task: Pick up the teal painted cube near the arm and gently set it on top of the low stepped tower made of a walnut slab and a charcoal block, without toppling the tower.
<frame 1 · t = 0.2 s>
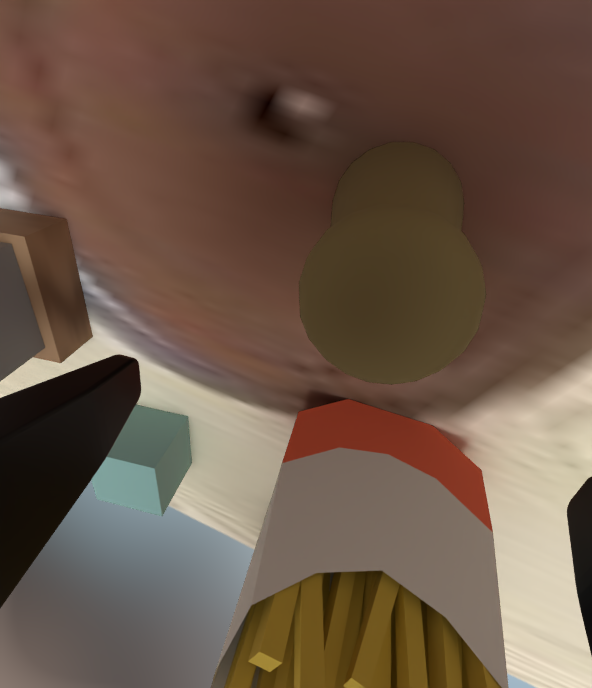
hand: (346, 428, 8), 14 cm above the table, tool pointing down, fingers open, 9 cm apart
cork: (395, 210, 20), on the table
teal cube: (159, 432, 32), on the table
french fries container: (380, 430, 27), on the table
walnut slab: (27, 270, 27), on the table, touching charcoal block
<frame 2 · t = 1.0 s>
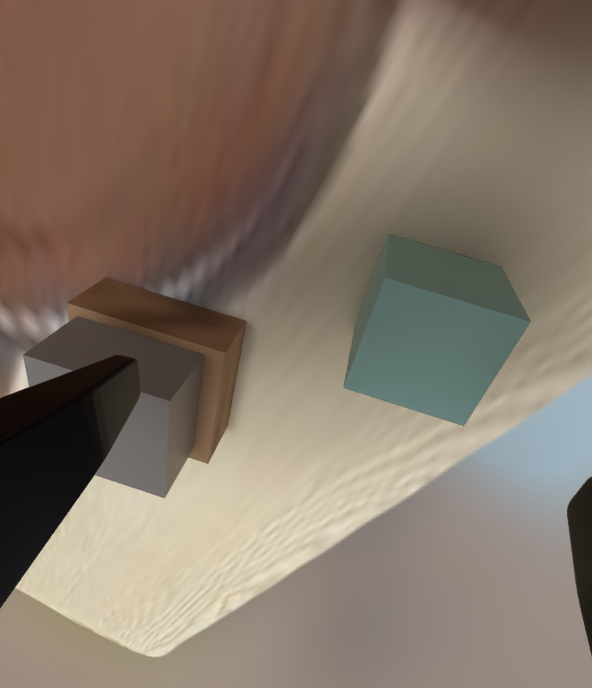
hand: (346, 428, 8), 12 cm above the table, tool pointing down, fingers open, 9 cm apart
teal cube: (422, 299, 20), on the table
charcoal block: (139, 386, 22), point 3 cm above the table
walnut slab: (174, 354, 25), on the table
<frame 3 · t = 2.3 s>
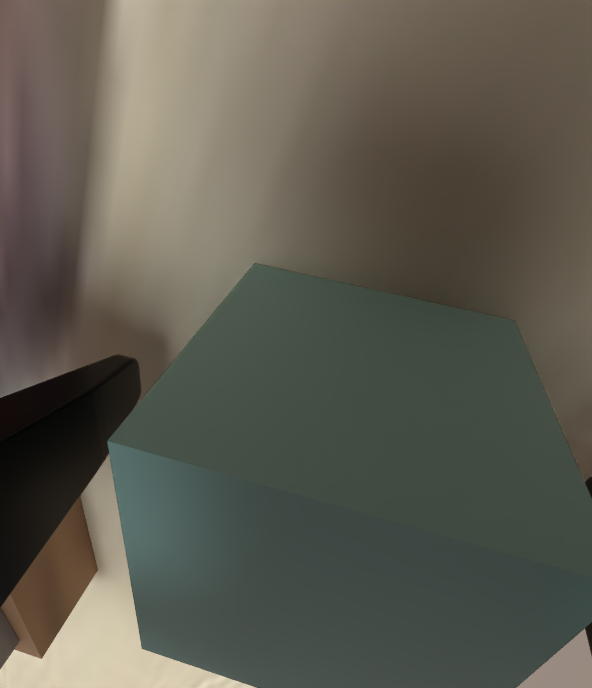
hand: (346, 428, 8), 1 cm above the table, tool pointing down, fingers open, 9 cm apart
teal cube: (353, 388, 9), on the table
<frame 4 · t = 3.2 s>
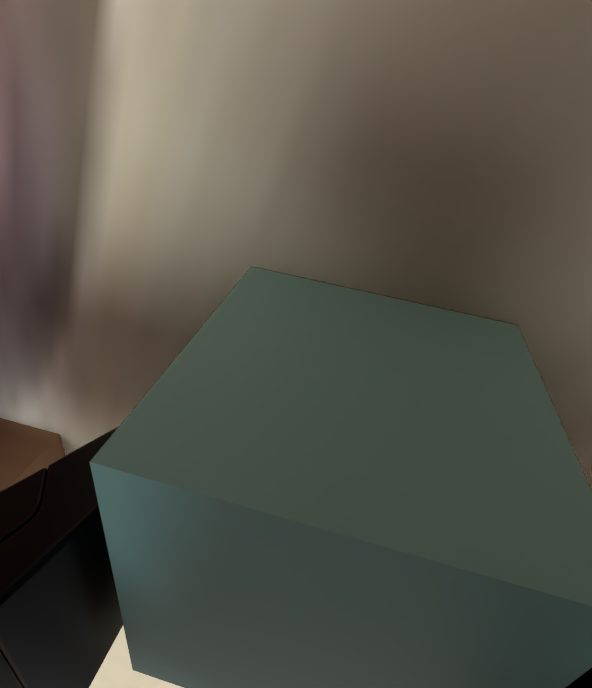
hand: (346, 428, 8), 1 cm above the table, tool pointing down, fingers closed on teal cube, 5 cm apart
teal cube: (352, 396, 9), on the table, touching gripper
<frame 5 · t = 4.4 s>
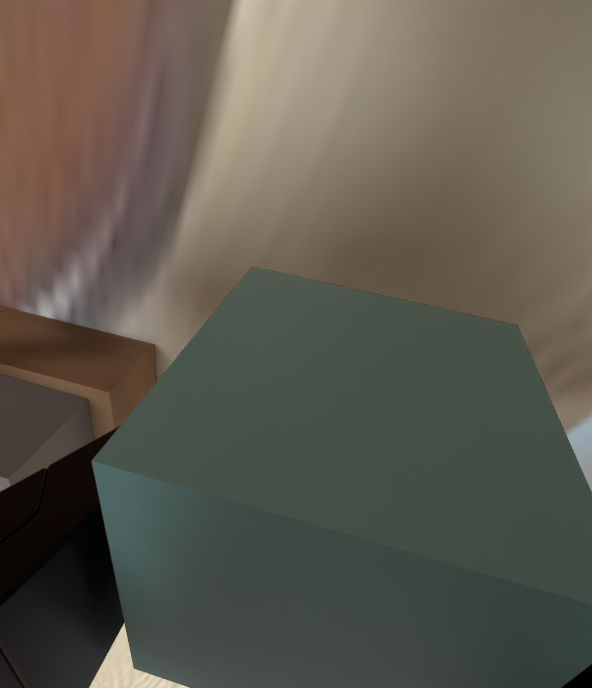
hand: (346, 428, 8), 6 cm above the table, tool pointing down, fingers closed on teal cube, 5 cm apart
teal cube: (352, 395, 9), point 5 cm above the table, touching gripper
charcoal block: (22, 439, 17), point 3 cm above the table
walnut slab: (83, 390, 20), on the table
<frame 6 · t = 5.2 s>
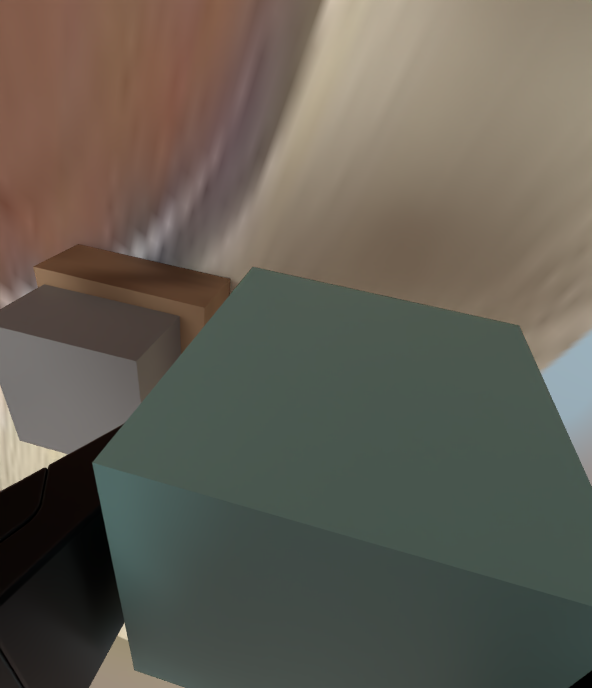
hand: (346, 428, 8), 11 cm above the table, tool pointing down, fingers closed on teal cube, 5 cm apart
teal cube: (353, 396, 9), point 10 cm above the table, touching gripper
charcoal block: (118, 359, 20), point 3 cm above the table, touching walnut slab
walnut slab: (160, 325, 23), on the table, touching charcoal block
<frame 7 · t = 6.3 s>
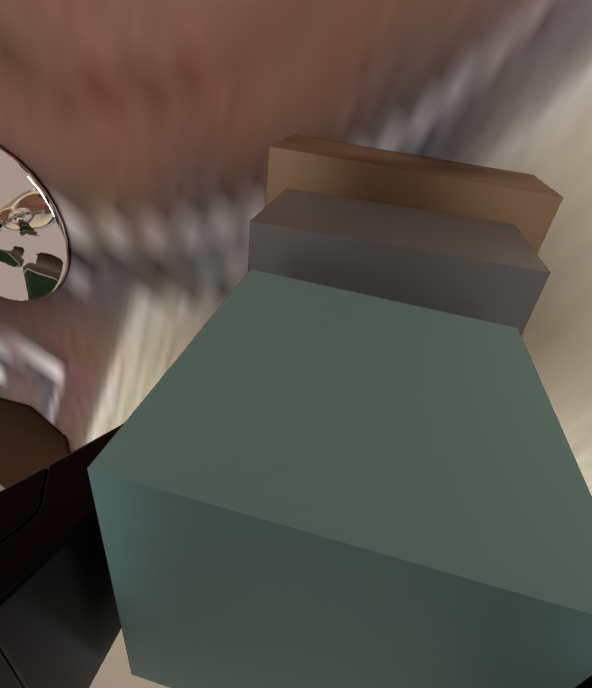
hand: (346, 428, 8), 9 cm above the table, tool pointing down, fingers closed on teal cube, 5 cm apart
teal cube: (351, 398, 9), point 8 cm above the table, touching gripper
charcoal block: (373, 305, 14), point 3 cm above the table
beer bottle: (25, 437, 28), on the table
walnut slab: (382, 261, 17), on the table
when the fingers open (9 cm above the table, at t = 7.5 s): teal cube drops 1 cm, resting on charcoal block.
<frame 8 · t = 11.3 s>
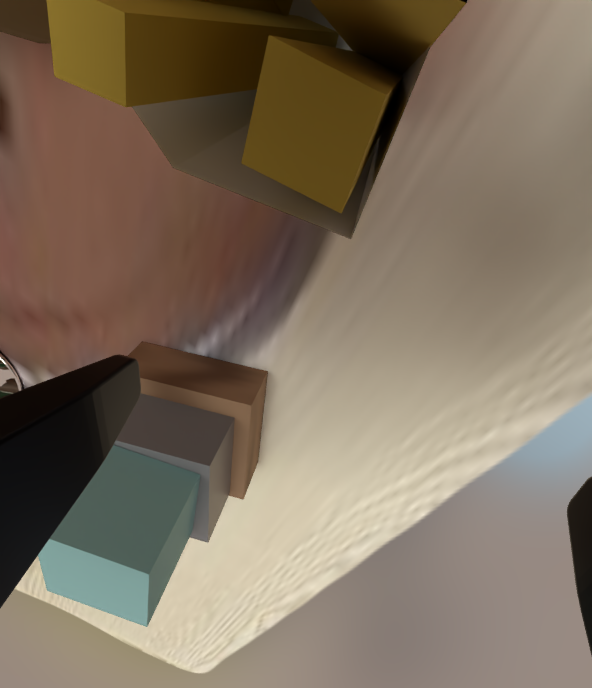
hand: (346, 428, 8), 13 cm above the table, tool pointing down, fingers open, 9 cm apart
teal cube: (151, 488, 22), point 7 cm above the table, touching charcoal block
charcoal block: (180, 443, 25), point 3 cm above the table, touching teal cube, walnut slab
walnut slab: (206, 402, 28), on the table, touching charcoal block
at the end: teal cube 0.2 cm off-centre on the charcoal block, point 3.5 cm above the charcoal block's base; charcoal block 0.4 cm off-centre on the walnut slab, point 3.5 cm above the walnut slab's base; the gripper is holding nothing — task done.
